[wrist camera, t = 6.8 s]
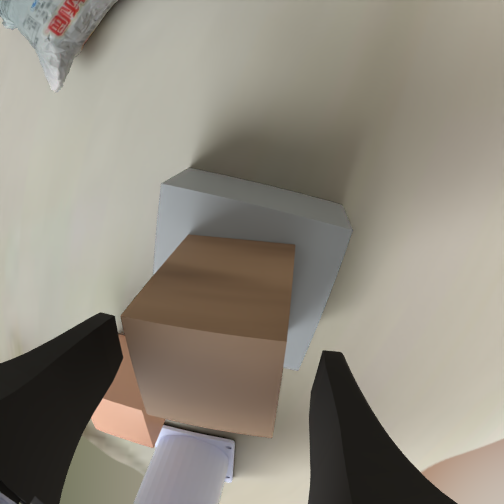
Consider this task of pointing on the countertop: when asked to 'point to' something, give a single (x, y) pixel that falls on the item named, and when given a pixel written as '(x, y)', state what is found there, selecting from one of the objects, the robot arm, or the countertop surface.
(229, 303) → the walnut block
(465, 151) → the countertop surface
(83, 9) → the packaged food
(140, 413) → the terracotta block
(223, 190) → the slate base block
